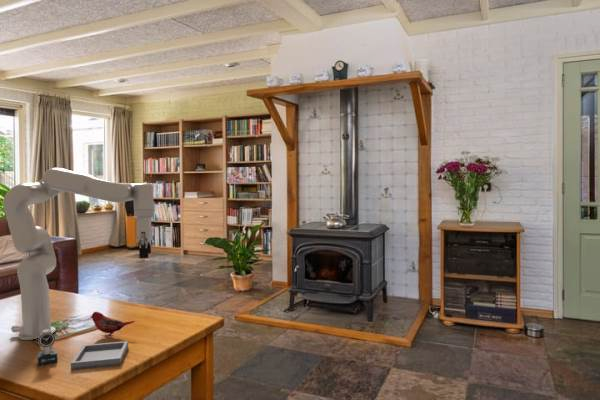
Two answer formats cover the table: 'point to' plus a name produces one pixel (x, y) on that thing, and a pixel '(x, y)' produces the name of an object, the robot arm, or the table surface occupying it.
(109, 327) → the decorative bird figurine
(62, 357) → the table surface
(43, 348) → the watch
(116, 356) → the tray
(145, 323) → the table surface
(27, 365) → the table surface
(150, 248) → the robot arm
